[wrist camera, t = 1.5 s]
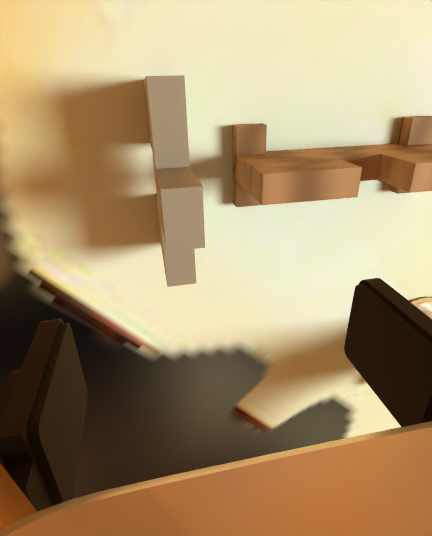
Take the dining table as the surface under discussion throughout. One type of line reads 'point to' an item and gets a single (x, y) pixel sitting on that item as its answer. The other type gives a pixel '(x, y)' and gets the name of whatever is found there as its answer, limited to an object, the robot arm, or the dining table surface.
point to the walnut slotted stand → (328, 166)
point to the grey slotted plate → (174, 178)
